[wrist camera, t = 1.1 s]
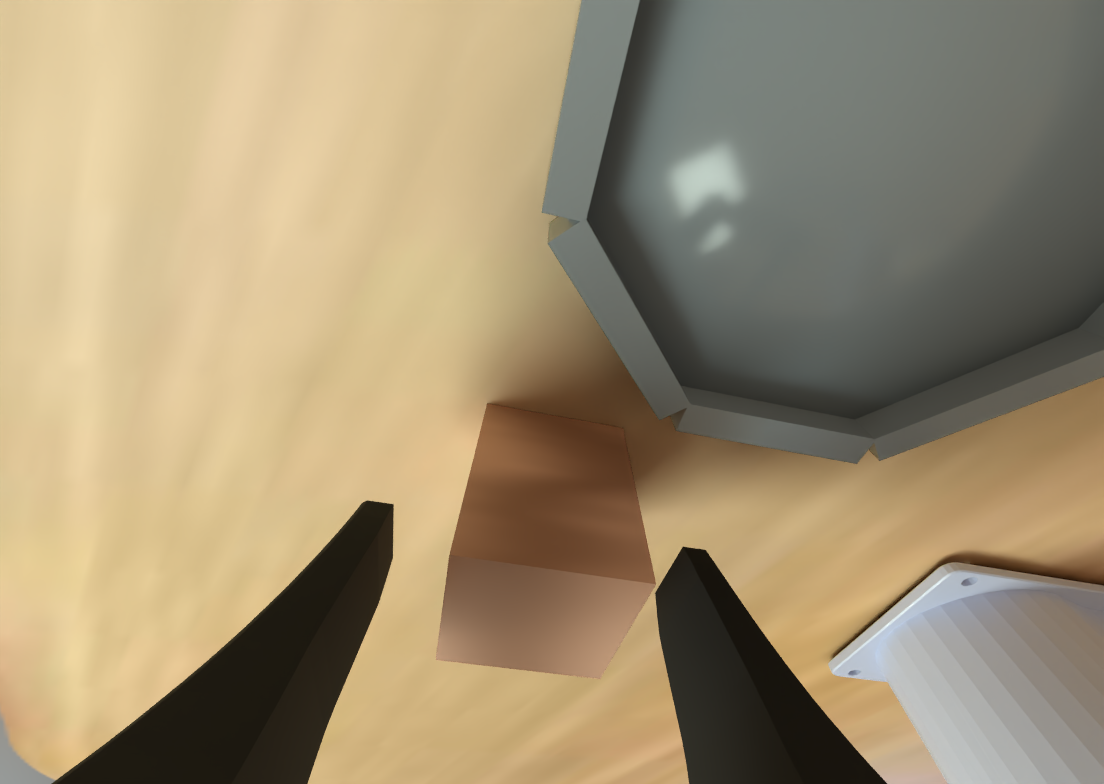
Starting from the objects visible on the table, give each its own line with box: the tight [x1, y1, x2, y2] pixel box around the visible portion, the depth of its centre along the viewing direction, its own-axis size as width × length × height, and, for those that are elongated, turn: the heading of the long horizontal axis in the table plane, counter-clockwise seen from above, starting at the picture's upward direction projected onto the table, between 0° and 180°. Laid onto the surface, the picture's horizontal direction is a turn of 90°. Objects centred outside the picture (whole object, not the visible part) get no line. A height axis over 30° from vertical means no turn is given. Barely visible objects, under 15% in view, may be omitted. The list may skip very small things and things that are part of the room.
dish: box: [542, 0, 1104, 464], centre depth 8 cm, size 13×13×2 cm
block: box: [436, 404, 656, 679], centre depth 11 cm, size 4×4×5 cm
